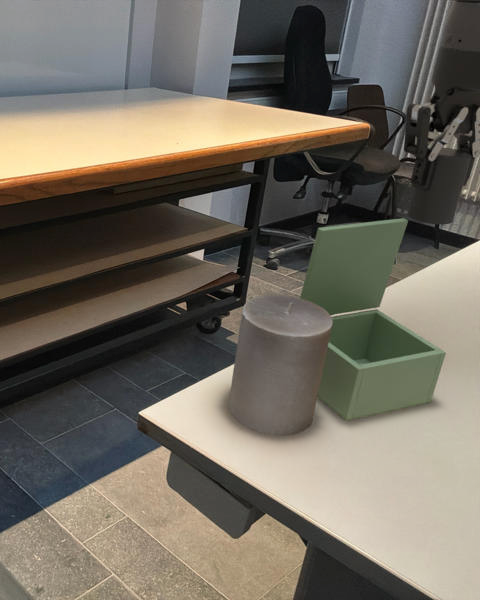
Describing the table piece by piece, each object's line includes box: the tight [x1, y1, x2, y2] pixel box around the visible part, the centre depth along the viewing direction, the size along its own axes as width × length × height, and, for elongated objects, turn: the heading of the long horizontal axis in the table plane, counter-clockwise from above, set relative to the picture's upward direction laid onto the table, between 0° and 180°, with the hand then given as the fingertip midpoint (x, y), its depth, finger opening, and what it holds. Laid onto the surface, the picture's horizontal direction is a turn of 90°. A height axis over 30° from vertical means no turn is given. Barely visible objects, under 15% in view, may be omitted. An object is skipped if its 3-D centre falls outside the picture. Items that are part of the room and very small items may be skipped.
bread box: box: [317, 308, 447, 422], centre depth 84 cm, size 12×13×8 cm
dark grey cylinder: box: [406, 146, 471, 226], centre depth 85 cm, size 5×5×8 cm
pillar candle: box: [227, 294, 333, 436], centre depth 77 cm, size 10×10×15 cm
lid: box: [299, 217, 409, 316], centre depth 85 cm, size 12×13×4 cm
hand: (438, 186), depth 85 cm, fingers closed on dark grey cylinder, 5 cm apart
